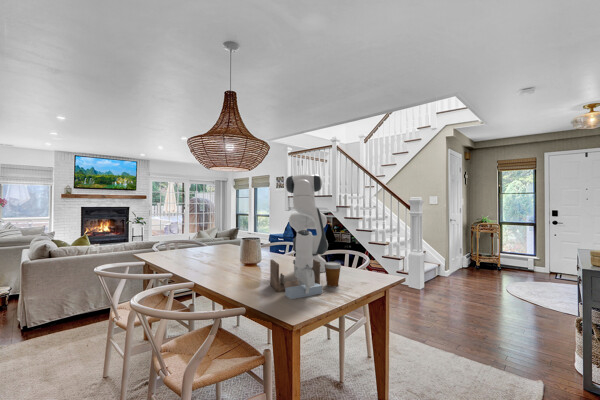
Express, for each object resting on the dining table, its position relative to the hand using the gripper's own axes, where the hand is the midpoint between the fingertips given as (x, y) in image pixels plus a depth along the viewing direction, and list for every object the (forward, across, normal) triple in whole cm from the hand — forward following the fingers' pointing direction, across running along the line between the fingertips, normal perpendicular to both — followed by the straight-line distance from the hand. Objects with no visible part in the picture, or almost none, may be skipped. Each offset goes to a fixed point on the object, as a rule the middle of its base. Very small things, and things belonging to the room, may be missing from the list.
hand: (304, 291), depth 147 cm
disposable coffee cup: (+2, +11, -21) cm, 24 cm away
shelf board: (+2, 0, 0) cm, 2 cm away
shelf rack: (+2, +15, 0) cm, 15 cm away
